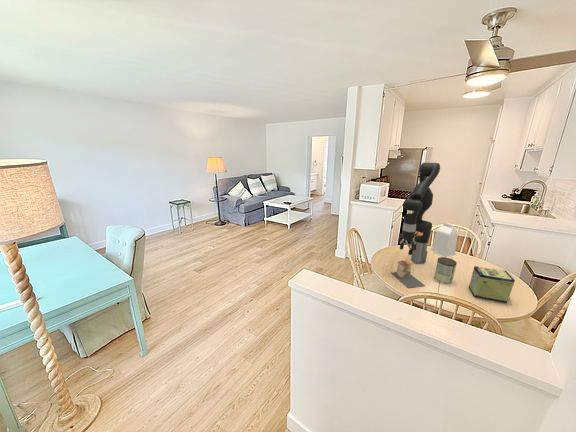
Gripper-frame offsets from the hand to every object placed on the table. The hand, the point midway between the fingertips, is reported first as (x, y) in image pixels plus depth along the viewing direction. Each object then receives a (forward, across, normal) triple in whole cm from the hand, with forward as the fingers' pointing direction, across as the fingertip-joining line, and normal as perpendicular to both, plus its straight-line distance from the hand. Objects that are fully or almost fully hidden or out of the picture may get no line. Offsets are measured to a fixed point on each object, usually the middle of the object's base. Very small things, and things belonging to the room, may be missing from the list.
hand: (405, 251), depth 149 cm
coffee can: (+18, -11, -22) cm, 31 cm away
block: (+17, -1, 0) cm, 17 cm away
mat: (+18, -6, 0) cm, 19 cm away
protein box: (+18, -30, -34) cm, 49 cm away
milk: (+19, +22, -54) cm, 61 cm away
